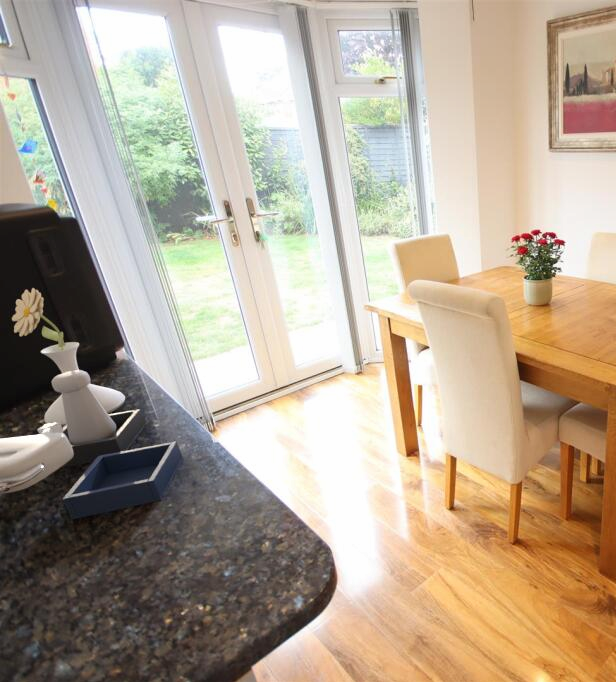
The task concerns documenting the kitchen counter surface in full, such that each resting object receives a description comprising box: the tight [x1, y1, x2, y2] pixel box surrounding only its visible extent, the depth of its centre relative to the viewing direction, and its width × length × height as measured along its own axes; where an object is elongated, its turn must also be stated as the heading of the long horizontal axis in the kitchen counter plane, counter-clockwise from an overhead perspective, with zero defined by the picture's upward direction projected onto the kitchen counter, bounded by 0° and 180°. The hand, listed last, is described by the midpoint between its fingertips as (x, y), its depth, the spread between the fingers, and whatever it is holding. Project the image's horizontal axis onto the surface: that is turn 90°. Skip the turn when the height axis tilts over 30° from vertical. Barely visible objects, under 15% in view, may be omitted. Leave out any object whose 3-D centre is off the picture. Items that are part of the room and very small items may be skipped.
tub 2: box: [61, 441, 184, 520], centre depth 65 cm, size 10×10×3 cm
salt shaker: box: [51, 369, 116, 444], centre depth 73 cm, size 6×6×13 cm
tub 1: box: [58, 408, 147, 470], centre depth 75 cm, size 10×10×3 cm
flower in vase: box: [11, 287, 126, 427], centre depth 80 cm, size 13×11×25 cm
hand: (16, 431), depth 62 cm, fingers open, 8 cm apart
